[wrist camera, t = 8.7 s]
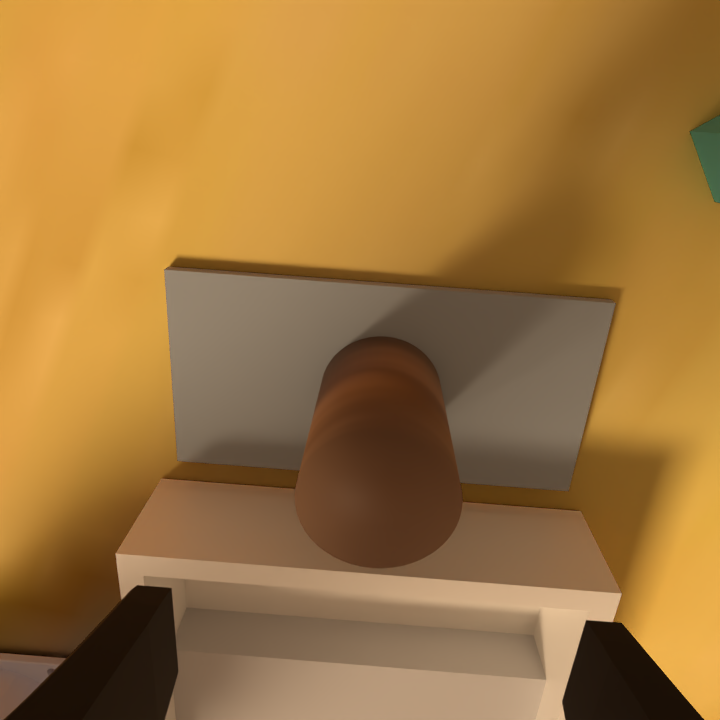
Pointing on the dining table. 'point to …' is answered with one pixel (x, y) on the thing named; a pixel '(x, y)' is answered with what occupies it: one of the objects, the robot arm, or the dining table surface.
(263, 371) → the slate mat
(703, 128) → the alien figure
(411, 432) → the walnut cylinder
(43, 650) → the dining table surface
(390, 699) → the open box
